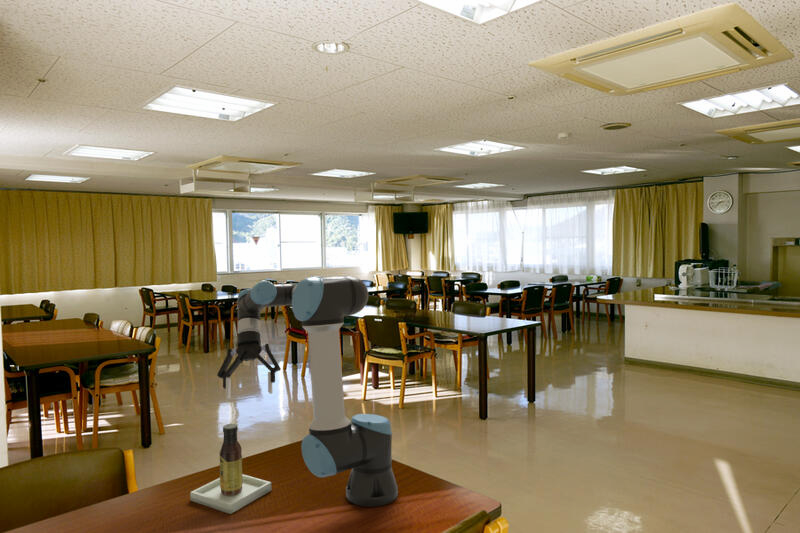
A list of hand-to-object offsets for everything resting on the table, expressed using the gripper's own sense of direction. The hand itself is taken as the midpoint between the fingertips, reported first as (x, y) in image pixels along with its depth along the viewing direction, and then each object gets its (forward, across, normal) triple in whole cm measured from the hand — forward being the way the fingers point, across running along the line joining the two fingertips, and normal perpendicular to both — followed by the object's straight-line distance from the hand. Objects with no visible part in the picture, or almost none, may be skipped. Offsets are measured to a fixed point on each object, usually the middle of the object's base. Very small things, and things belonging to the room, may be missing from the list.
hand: (249, 395), depth 171 cm
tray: (+29, +4, +3) cm, 30 cm away
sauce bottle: (+29, +4, +3) cm, 29 cm away
